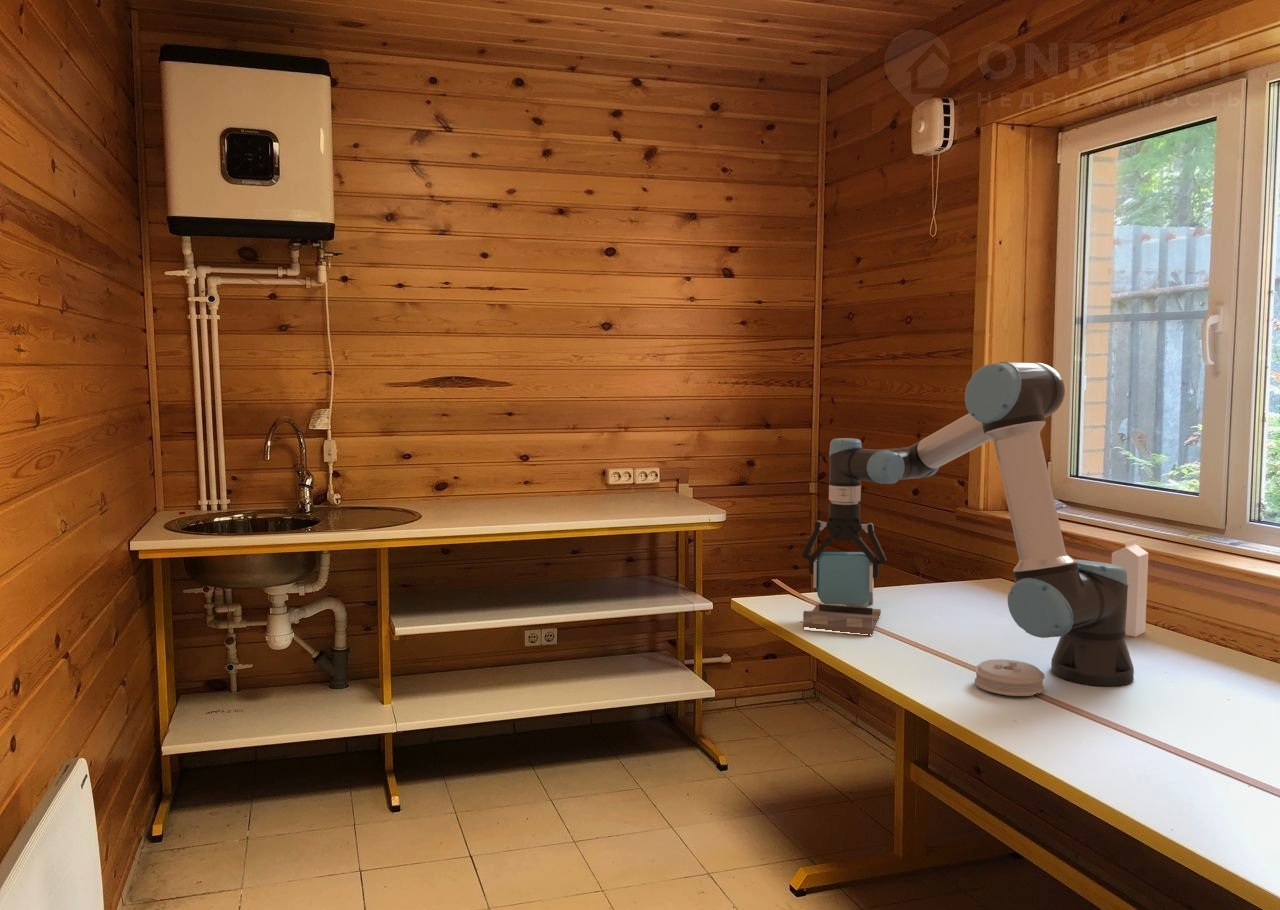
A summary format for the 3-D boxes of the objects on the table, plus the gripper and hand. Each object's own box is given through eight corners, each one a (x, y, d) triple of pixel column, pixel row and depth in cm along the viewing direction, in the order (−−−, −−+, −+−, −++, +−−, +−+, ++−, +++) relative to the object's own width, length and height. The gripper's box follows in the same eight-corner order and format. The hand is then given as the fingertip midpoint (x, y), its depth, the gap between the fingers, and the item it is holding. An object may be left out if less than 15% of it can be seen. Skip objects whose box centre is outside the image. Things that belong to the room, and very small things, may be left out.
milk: (1145, 632, 225) (1150, 539, 222) (1135, 637, 221) (1140, 542, 218) (1118, 627, 229) (1122, 535, 227) (1107, 632, 225) (1112, 539, 223)
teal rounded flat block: (866, 599, 236) (866, 551, 235) (869, 604, 232) (870, 555, 231) (817, 599, 237) (817, 551, 236) (819, 604, 232) (820, 555, 231)
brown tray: (871, 636, 223) (872, 617, 222) (802, 630, 228) (803, 612, 227) (880, 615, 242) (880, 597, 241) (816, 610, 247) (817, 592, 247)
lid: (960, 683, 191) (961, 659, 190) (1011, 675, 195) (1012, 651, 195) (1005, 704, 179) (1006, 678, 178) (1058, 695, 183) (1059, 670, 183)
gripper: (790, 502, 233) (789, 588, 235) (896, 506, 224) (894, 596, 226) (796, 498, 240) (795, 581, 242) (898, 502, 231) (896, 589, 234)
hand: (843, 589), depth 234 cm, fingers closed on teal rounded flat block, 13 cm apart
